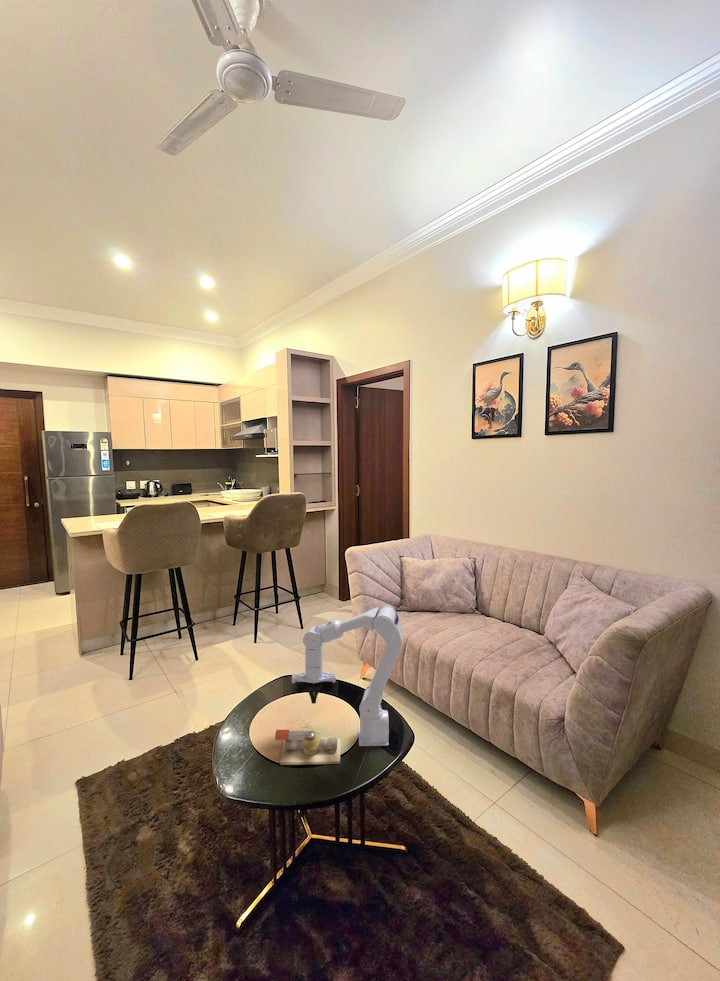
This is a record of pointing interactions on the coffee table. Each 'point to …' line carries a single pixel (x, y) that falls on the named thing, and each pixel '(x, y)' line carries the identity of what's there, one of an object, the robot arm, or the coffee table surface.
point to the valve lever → (293, 734)
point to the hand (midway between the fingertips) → (313, 701)
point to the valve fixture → (310, 751)
